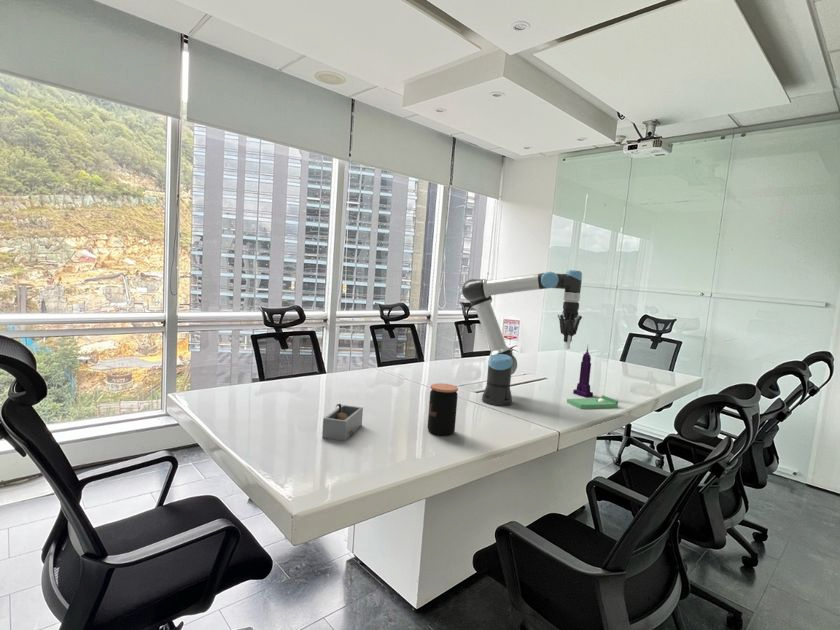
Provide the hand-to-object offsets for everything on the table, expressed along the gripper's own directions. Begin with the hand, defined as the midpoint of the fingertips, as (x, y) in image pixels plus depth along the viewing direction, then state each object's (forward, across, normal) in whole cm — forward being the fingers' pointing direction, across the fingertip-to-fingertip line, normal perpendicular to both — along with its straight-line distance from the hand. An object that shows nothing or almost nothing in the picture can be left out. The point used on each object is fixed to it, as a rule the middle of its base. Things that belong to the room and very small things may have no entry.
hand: (566, 348), depth 226 cm
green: (+29, +19, -1) cm, 35 cm away
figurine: (+29, -115, -23) cm, 121 cm away
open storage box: (+29, -114, -24) cm, 120 cm away
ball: (+29, +25, -1) cm, 38 cm away
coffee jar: (+30, -77, -29) cm, 88 cm away
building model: (+30, +28, +18) cm, 45 cm away
